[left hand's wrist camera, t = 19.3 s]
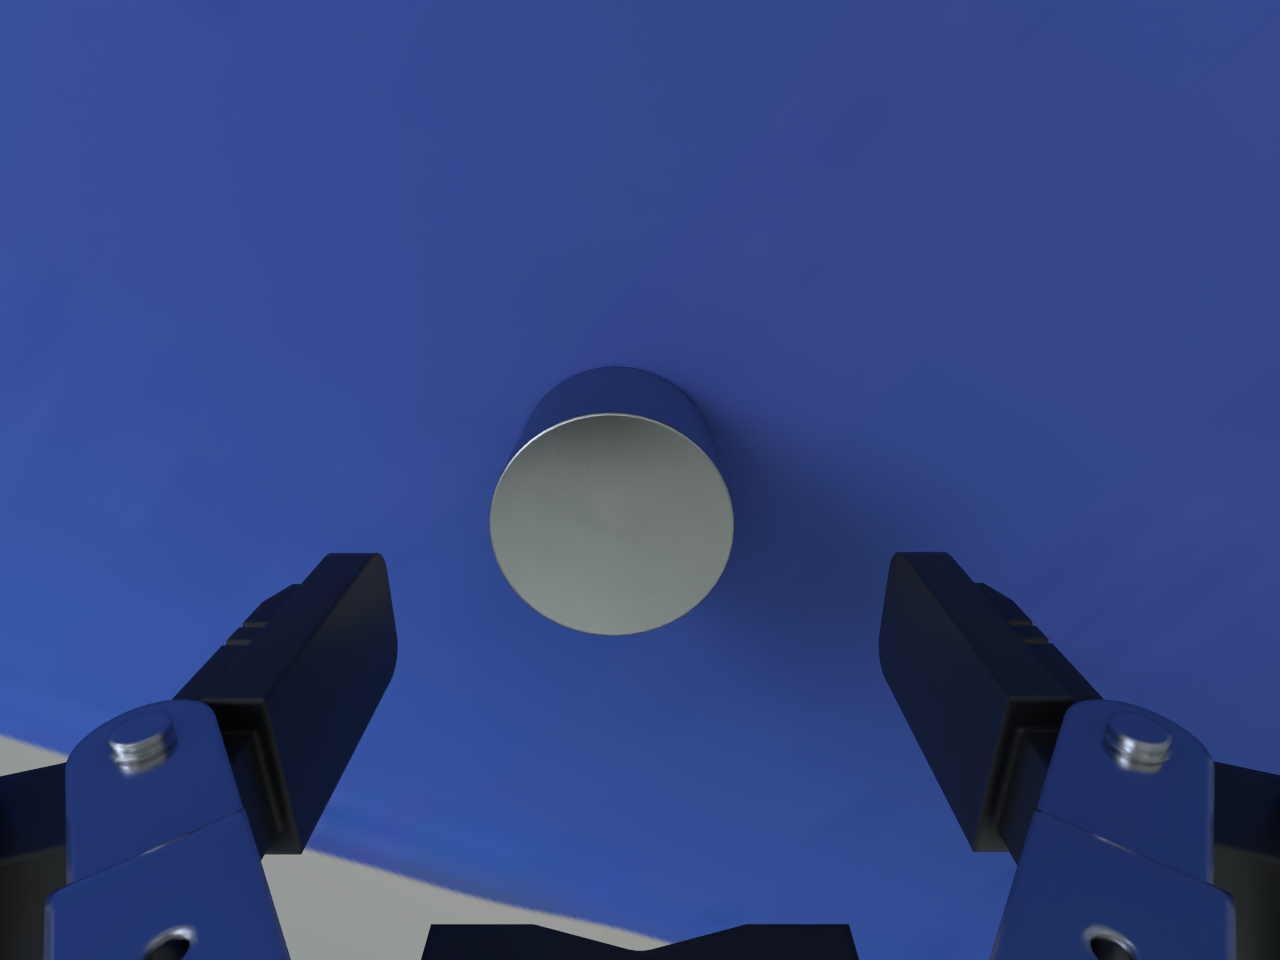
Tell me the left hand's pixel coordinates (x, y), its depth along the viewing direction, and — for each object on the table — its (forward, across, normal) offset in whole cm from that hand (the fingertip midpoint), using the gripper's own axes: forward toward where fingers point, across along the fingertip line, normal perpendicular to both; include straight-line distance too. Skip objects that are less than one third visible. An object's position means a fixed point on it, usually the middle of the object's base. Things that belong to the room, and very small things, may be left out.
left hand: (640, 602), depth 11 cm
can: (+8, -1, 0) cm, 8 cm away
